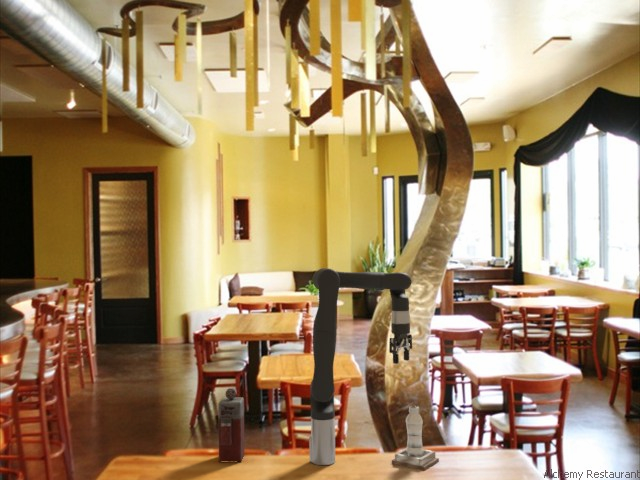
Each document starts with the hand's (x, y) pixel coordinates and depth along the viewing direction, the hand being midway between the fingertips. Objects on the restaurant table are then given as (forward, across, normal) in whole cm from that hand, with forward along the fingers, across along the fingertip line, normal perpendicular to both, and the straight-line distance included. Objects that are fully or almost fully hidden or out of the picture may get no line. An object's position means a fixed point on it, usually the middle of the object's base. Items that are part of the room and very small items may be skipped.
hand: (401, 361), depth 256 cm
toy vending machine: (+37, +46, -51) cm, 78 cm away
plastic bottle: (+36, +7, +10) cm, 37 cm away
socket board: (+37, +7, +10) cm, 39 cm away
